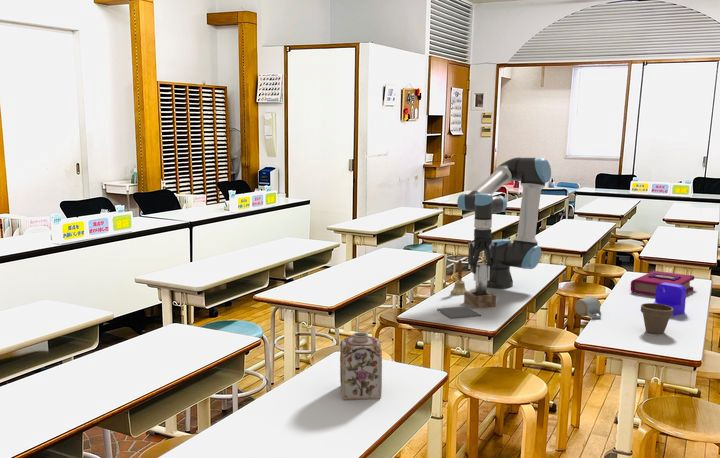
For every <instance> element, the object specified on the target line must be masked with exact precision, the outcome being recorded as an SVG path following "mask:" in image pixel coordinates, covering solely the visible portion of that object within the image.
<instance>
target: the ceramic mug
mask: <svg viewBox="0 0 720 458" xmlns="http://www.w3.org/2000/svg"><path fill="white" fill-rule="evenodd" d="M574 309H575V313H577V315H578V316H579V317H580V316H581V317H589V318H591V319H594V320H598V319H600V318H601V317H602V311H601V303H600V301H599V299H598V298H597V297H595V296H593V295H592V296H591V295H589V296H587V297H584V298H580V299H577V301H576V302H575V303H574Z"/></svg>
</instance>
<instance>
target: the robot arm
mask: <svg viewBox="0 0 720 458" xmlns="http://www.w3.org/2000/svg"><path fill="white" fill-rule="evenodd" d="M551 178H552V168H551V165H550V163H549V161H548V160H547V159H546V158H543V157H519V156H517V157H513V158H510V159H508V160H506V161H504V162H502V163H501V164H499V165H498V166H497V167H495V169H494V172H493V173H492V174H491V175H489V176H488V177H487V178H486V179H484V180H483V181H482V182H481V183H480V184H478V185H477V186H476V187H475V188H474V189H473V190H471V191H470V192H468V193H462V194H459V196H458V197H457V200H456V203H457V207H458V209H459V210H461V211H466V212H474V223H473V225H474V229H473V232H474V233H473V241H472V242H468V243H467V248H468V255H467V256H468V257H467V258H468V259H467V262H468V263H467V264H468V265H469V266H471V273H472V274H473V281H475V282H476V281H478V267H477V263H479V258H480V255H481V252H482V251H484V256H485V260H486V264H488V270H487V288H492V289H493V288H494V289H495V288H496V289H506V288H507V289H508V288H511V287H513V286H514V281H513V277H512V274H511V267H512V268H518V269H525V270H526V269H527V270H533V269H535V268H536V267H537V266H538V264H540V263H539V262H540V261H541V258H542V249H541V247H540V246H539V245H538V243H539V242H538V241H537V239H536V235H537V233H536V232H537V225H538V217H539V209H540V203H541V202H540V201H541V194H542V193H541V192H542V190H543V189H544V188H545V187H546V184H547V183H549V182H550V180H551ZM514 181H515V182H516V181H518V182H520V186H521V187H522V195H521V201H520V202H521V203H520V210H519V217H518V226H517V234H516V236H515V238H513V240H511V239H510V238H500V239H492V224H493V223H492V221H493V219H492V218H493V215H494V214H500V213H503V212H504V211H506V209H507V207H508V202H507V199H506V198H505V197H504V196H502V195H495V196H494V193H496V192H497V191H498V190H500V188H502V187H503V186H504V185H508V184H509V183H511V182H514Z"/></svg>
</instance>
